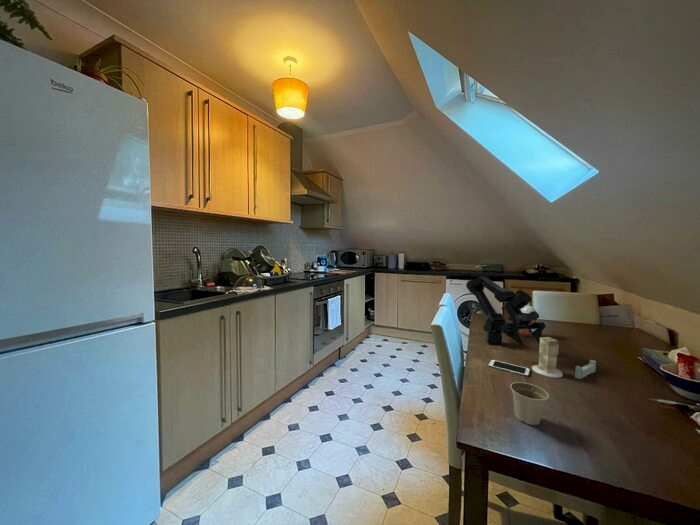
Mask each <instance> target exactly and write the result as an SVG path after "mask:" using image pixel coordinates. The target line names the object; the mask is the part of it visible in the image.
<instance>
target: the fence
mask: <svg viewBox="0 0 700 525" xmlns="http://www.w3.org/2000/svg"><path fill="white" fill-rule="evenodd" d="M596 367H597V361H596V360H593V359H589V363H588V364H586V365H583V366H580V365H576V366H575V370H574V371H575V372H574V378H575V379H578V380H582V379H583V378H585V377H588V376H589V374H590V375H591V373H592V374H594V373H596ZM587 375H588V376H587Z"/></svg>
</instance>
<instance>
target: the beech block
mask: <svg viewBox="0 0 700 525" xmlns="http://www.w3.org/2000/svg"><path fill="white" fill-rule="evenodd" d="M557 344H559V342H558V340H557V339H554V338H552V337H549V336H545V337H543V336H542V337H540V344H539V348H538V350H539V352H538V353H539V354H538V365H539V366H538V368H539V369H540V370H542V371H544V372H546V373H556V369H557V360H558V359H557V356H558V355H557Z"/></svg>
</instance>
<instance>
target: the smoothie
mask: <svg viewBox="0 0 700 525" xmlns="http://www.w3.org/2000/svg"><path fill="white" fill-rule="evenodd" d="M520 310H521V311H522V313H523V312H524V313H530V312H533V311H536V312H537V310H536V309H535V307H534V306H531V305H530V303H528V304H527V305H526V306H525V307H524V308H522V309H520ZM534 322H537V320H536V321H535V320H533V321H531V323H529V325H531V324H533V323H534ZM519 333H520V335H521V334H522V335H521V336H523V335H524V336H523V337H527V336H530V337H529V338H532V335H531V333H532V332H530V331H529V329H525V330H519Z"/></svg>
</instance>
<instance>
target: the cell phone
mask: <svg viewBox="0 0 700 525" xmlns="http://www.w3.org/2000/svg"><path fill="white" fill-rule="evenodd" d="M487 367H488V368H492V369H496V370H499V371H502V372H507V373H511V374H514V375H518V376H522V377H527V378H529V377H530V375H531V368H529V367H525V366H521V365H518V364H517V365H516V364H513V363H509V362H505V361H502V360H501V361H500V360H497V359H490V360H489V362H488V364H487Z"/></svg>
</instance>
